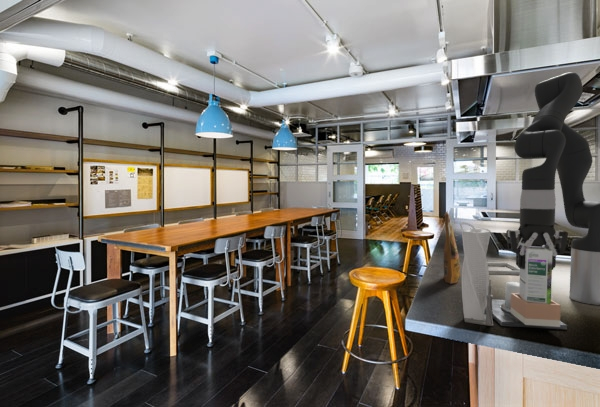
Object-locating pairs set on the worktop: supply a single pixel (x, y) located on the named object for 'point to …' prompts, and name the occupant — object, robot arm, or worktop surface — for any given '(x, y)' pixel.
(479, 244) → the light grey twisted vase
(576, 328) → the worktop surface
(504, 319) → the base
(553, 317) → the pink planter box
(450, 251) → the pancake mix bag
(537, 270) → the syrup box
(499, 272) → the cup tray rim
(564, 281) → the worktop surface
